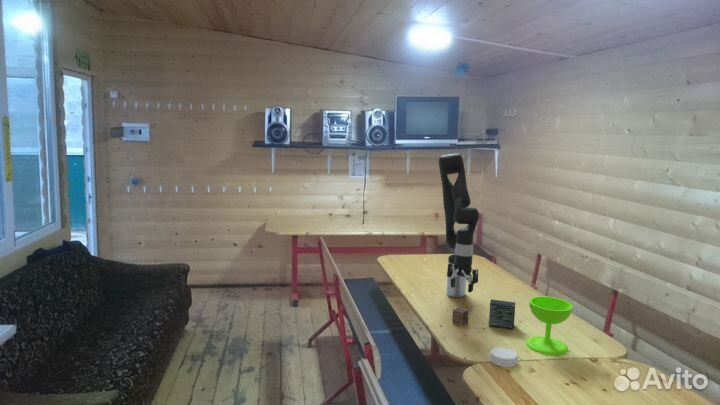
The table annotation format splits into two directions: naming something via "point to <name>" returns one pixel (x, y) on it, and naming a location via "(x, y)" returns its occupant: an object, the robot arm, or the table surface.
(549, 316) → the wineglass
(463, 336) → the table surface
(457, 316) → the walnut block
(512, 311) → the small box
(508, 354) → the white short cylinder
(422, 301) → the table surface
